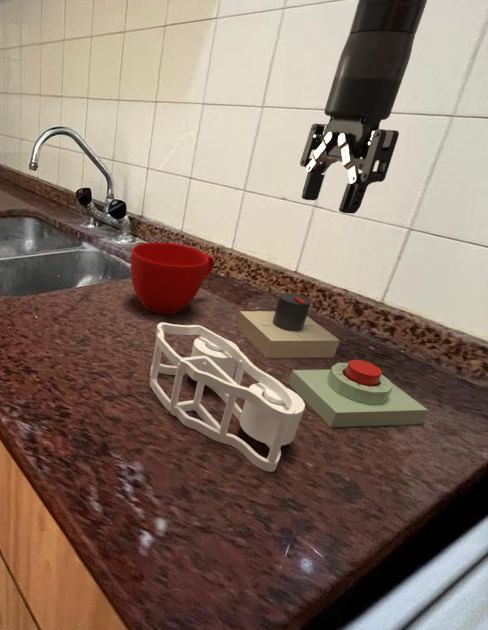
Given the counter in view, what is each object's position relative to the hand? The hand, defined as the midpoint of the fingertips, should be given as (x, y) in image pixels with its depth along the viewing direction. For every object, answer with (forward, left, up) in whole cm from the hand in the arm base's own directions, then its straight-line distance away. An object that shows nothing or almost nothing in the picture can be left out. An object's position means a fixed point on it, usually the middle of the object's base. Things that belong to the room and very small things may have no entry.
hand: (326, 205), depth 64 cm
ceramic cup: (+15, -13, -22) cm, 29 cm away
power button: (+1, +17, -18) cm, 25 cm away
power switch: (+1, +17, -21) cm, 27 cm away
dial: (+1, +1, -18) cm, 18 cm away
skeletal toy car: (+20, +18, -22) cm, 35 cm away
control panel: (+1, +1, -21) cm, 21 cm away
